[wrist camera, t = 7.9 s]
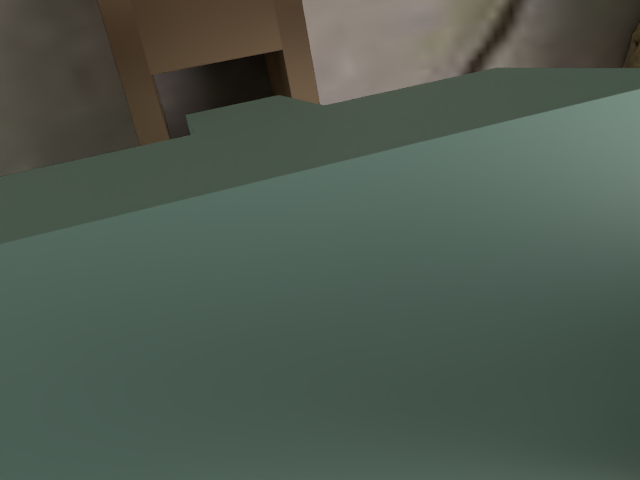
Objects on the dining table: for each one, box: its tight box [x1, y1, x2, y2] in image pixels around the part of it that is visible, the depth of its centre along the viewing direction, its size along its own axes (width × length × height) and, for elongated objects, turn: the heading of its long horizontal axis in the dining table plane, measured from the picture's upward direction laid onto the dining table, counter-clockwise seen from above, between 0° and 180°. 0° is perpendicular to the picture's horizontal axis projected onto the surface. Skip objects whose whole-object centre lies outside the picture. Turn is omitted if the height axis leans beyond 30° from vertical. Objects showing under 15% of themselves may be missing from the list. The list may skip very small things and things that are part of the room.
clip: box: [0, 68, 640, 480], centre depth 10 cm, size 9×8×8 cm
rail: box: [97, 0, 320, 146], centre depth 18 cm, size 20×5×3 cm, turn 10°
